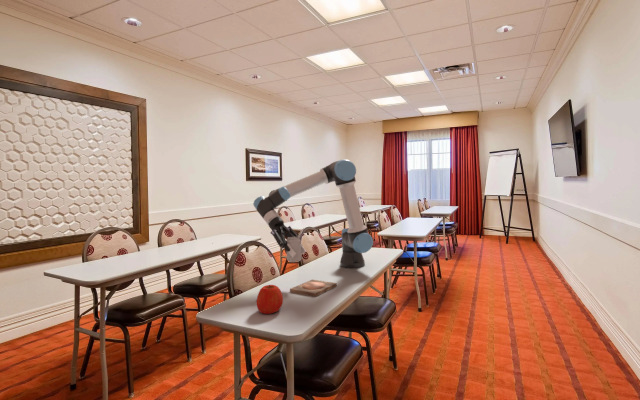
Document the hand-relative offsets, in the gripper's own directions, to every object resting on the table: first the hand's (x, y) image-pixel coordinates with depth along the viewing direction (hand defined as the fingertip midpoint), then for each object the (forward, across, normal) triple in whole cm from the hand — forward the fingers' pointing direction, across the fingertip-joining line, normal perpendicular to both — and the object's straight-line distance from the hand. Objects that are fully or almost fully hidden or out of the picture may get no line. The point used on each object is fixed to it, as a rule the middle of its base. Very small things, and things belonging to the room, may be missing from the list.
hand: (299, 253), depth 170 cm
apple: (+19, +32, -4) cm, 38 cm away
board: (+18, 0, -6) cm, 18 cm away
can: (0, 0, -5) cm, 5 cm away
